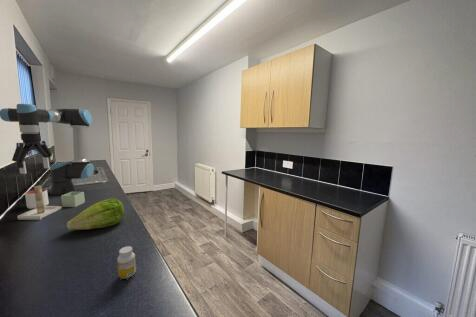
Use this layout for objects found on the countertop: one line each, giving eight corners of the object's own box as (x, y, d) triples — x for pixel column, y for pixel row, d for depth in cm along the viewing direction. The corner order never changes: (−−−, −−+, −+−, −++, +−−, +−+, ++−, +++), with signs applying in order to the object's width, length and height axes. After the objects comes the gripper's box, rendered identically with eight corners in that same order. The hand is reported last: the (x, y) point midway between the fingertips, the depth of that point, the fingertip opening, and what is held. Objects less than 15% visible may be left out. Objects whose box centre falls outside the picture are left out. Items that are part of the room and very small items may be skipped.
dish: (42, 209, 124) (41, 205, 124) (61, 209, 124) (61, 206, 124) (18, 219, 110) (17, 215, 110) (40, 220, 110) (39, 215, 110)
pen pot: (72, 203, 135) (71, 191, 134) (85, 203, 135) (83, 191, 134) (62, 207, 127) (60, 195, 126) (75, 208, 127) (74, 195, 126)
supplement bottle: (123, 269, 73) (121, 245, 72) (138, 269, 73) (137, 244, 72) (115, 281, 68) (113, 254, 66) (132, 280, 68) (130, 254, 67)
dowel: (40, 211, 118) (37, 185, 116) (46, 211, 118) (42, 185, 116) (36, 213, 115) (32, 187, 113) (41, 213, 116) (37, 187, 113)
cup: (53, 204, 133) (51, 189, 132) (36, 210, 123) (34, 194, 122) (39, 203, 134) (37, 188, 133) (22, 209, 124) (20, 193, 123)
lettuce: (65, 214, 102) (60, 209, 91) (118, 198, 118) (120, 191, 106) (72, 241, 100) (69, 240, 89) (126, 221, 115) (129, 217, 104)
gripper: (44, 132, 122) (49, 166, 126) (-4, 133, 98) (4, 176, 101) (56, 132, 123) (61, 166, 126) (12, 134, 98) (19, 176, 101)
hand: (35, 170), depth 114 cm, fingers open, 13 cm apart
